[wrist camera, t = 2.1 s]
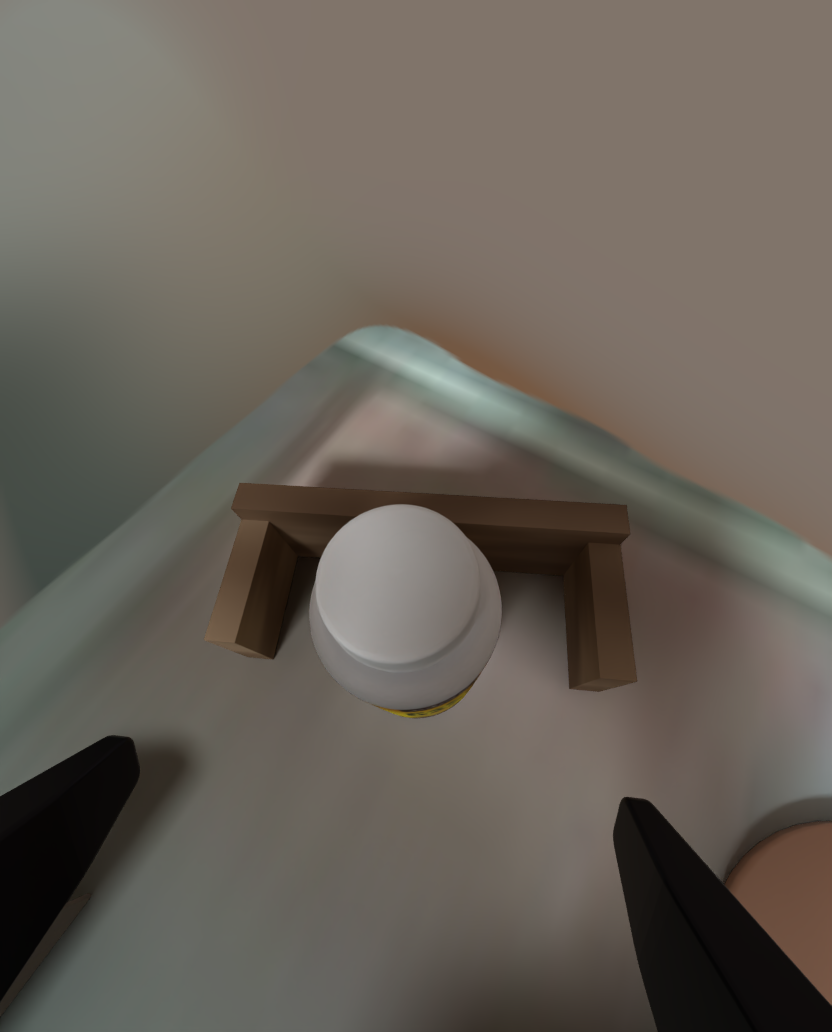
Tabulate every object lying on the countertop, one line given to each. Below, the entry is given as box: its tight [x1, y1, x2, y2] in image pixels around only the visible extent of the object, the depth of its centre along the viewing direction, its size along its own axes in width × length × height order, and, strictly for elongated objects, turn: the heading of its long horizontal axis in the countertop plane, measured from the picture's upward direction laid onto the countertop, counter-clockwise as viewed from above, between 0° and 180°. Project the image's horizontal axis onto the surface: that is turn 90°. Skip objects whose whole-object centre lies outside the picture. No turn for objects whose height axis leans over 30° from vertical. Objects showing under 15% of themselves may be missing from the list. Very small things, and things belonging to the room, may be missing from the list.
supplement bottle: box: [309, 504, 502, 718], centre depth 15 cm, size 6×6×10 cm
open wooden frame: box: [204, 483, 637, 692], centre depth 18 cm, size 6×15×5 cm, turn 84°
